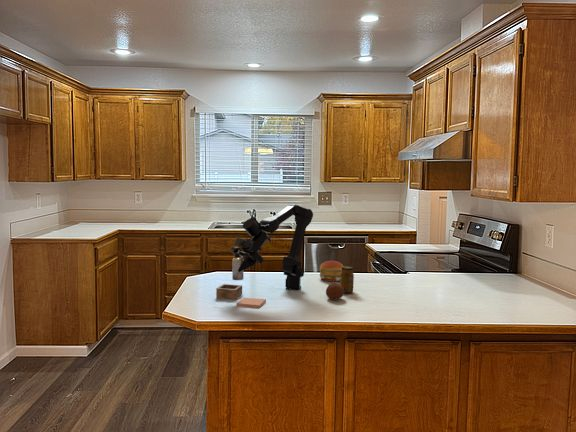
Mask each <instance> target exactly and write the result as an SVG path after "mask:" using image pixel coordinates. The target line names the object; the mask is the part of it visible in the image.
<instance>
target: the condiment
mask: <svg viewBox="0 0 576 432" xmlns="http://www.w3.org/2000/svg"><path fill="white" fill-rule="evenodd" d="M354 276H355V274H354V268H353V267H352V266H347V265H346V266H344V267H342V273H341V280H340V283H339V284H340V285H341V286H342V287H343V289H344V295H343V296H353V295H358V293H357V292H355V291H354V284H355V283H354V282H355V281H354V279H355V277H354Z"/></svg>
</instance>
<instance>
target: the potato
mask: <svg viewBox="0 0 576 432" xmlns="http://www.w3.org/2000/svg"><path fill="white" fill-rule="evenodd" d="M340 284H341V283H338V282H331V283H330V284H328V286H327V287H326V289H325V295H326V297H327V298H329V299H330V300H338V299H341V298H343V297H344V296H345V295H344V289H343V287H342V286H341V285H340Z"/></svg>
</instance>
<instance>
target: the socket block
mask: <svg viewBox="0 0 576 432" xmlns="http://www.w3.org/2000/svg"><path fill="white" fill-rule="evenodd" d="M215 294H216V295H215V297H216V299H217V300H218V299H220V300H231V301H236V300H238V299H239V298H240V297H242V296H243V285H242V284H232V283H231V284H229V283H223V284H221V285H219V286H218V287H217V288H216V292H215Z"/></svg>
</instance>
